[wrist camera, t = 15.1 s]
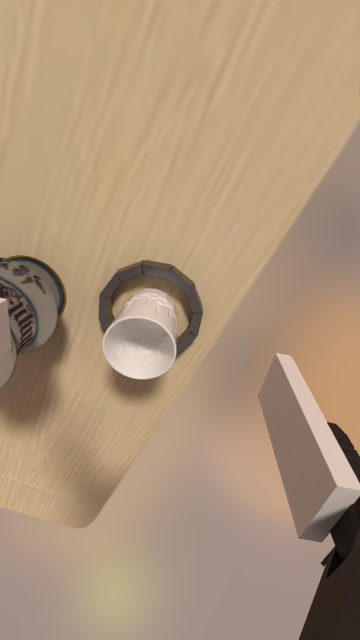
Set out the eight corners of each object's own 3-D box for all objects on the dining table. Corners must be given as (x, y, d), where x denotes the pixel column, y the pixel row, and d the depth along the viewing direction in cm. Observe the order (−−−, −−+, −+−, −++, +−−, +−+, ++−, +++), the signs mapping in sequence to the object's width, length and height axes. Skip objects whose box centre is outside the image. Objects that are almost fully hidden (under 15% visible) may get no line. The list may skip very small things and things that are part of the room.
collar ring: (191, 357, 41) (190, 365, 40) (101, 342, 41) (97, 349, 39) (210, 271, 35) (211, 276, 34) (106, 252, 35) (101, 256, 33)
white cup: (111, 304, 38) (86, 342, 29) (155, 271, 36) (143, 302, 27) (148, 344, 41) (135, 390, 32) (191, 316, 38) (191, 357, 29)
